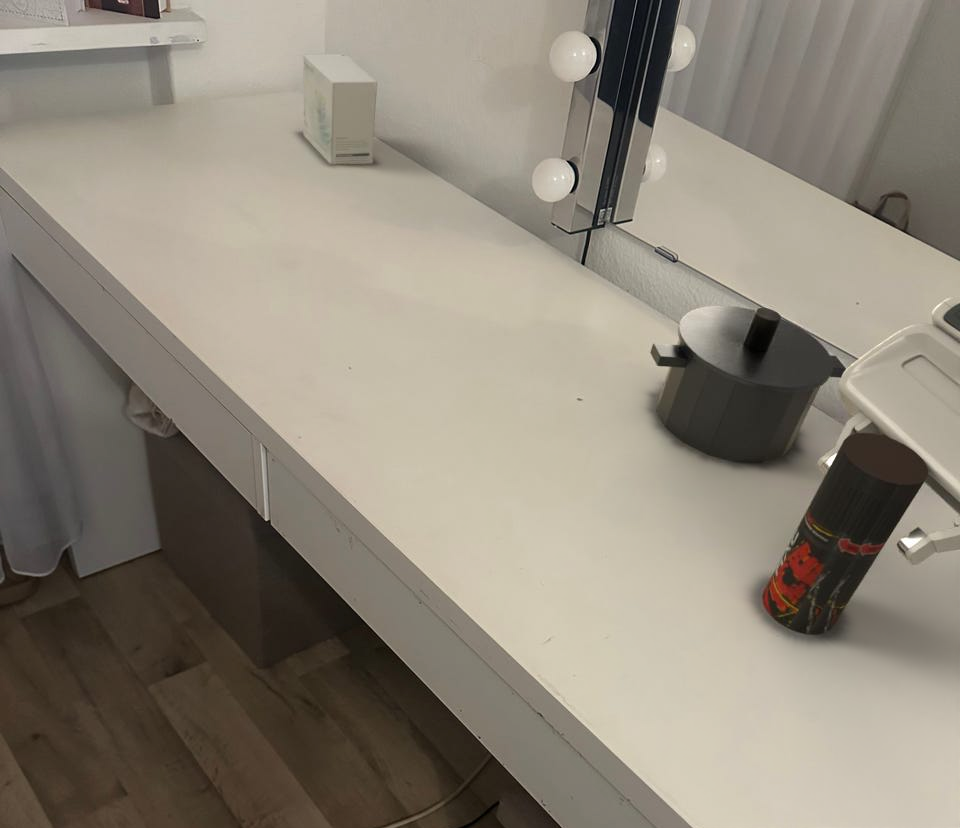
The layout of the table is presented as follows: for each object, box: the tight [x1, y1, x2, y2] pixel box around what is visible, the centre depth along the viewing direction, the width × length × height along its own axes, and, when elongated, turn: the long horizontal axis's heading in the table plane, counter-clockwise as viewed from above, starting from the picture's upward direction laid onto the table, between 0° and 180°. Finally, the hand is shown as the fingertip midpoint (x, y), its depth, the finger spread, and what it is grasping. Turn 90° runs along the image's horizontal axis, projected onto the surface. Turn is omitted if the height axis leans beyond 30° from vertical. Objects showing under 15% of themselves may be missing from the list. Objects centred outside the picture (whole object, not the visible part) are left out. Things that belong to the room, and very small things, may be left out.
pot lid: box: [677, 305, 833, 392], centre depth 83 cm, size 15×15×4 cm
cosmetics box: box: [302, 53, 378, 165], centre depth 120 cm, size 10×6×10 cm, turn 28°
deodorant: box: [762, 433, 928, 636], centre depth 67 cm, size 6×6×15 cm
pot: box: [649, 339, 847, 465], centre depth 87 cm, size 14×19×8 cm
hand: (862, 512), depth 65 cm, fingers open, 8 cm apart
